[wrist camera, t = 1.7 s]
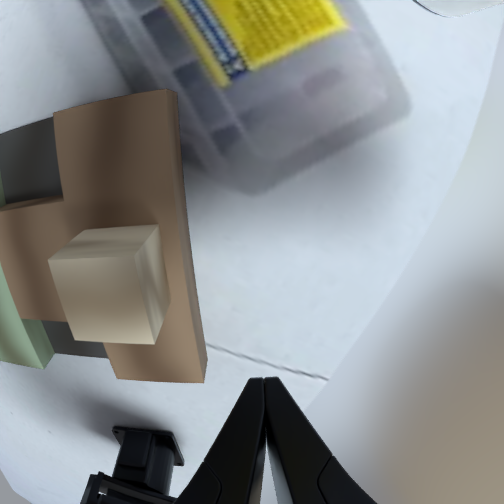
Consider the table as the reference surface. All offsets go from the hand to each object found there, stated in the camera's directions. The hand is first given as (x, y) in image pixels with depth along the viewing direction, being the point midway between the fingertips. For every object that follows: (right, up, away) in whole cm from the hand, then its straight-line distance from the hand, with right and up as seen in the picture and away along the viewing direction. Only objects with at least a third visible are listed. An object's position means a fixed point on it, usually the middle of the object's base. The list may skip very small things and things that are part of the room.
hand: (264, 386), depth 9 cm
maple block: (-7, +3, +8) cm, 11 cm away
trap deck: (-14, +4, +10) cm, 18 cm away
